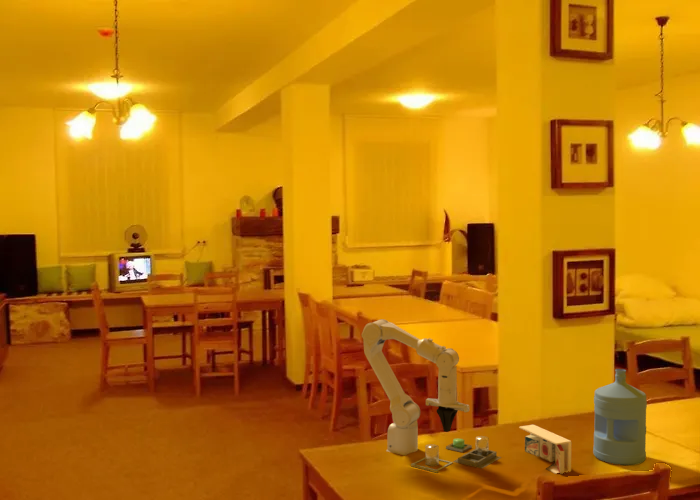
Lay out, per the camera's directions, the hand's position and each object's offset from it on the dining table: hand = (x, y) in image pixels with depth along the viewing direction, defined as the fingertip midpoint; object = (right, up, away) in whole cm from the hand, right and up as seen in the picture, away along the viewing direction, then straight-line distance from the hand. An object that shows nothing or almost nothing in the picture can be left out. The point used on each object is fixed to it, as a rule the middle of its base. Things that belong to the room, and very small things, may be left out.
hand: (447, 431), depth 234 cm
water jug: (+55, -9, +1) cm, 55 cm away
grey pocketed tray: (+9, -9, -4) cm, 13 cm away
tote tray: (-6, -9, -8) cm, 13 cm away
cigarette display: (+30, -9, -4) cm, 32 cm away
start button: (+5, -8, +7) cm, 11 cm away
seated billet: (+11, -8, -1) cm, 13 cm away
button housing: (+5, -9, +7) cm, 12 cm away
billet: (-6, -9, -8) cm, 13 cm away
